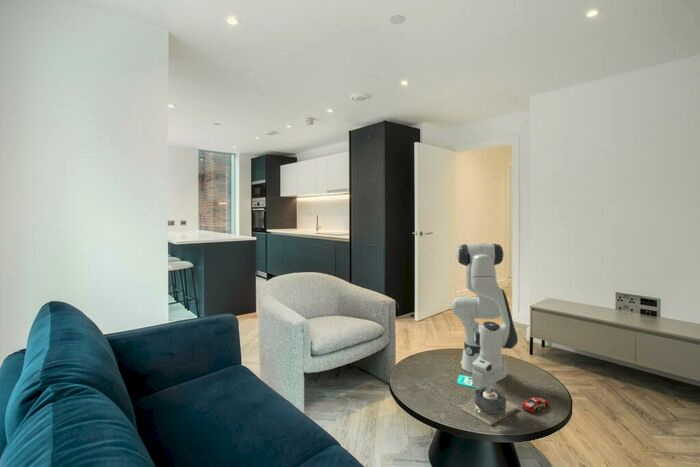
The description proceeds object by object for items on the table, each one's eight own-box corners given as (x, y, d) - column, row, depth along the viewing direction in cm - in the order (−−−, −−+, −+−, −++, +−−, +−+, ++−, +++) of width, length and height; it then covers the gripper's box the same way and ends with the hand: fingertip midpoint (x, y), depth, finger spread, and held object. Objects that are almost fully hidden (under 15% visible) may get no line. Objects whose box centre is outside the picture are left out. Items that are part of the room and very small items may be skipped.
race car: (539, 401, 160) (539, 392, 160) (550, 406, 155) (550, 397, 155) (519, 408, 154) (519, 399, 154) (531, 415, 149) (531, 405, 149)
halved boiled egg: (488, 398, 157) (488, 389, 157) (500, 404, 152) (500, 395, 152) (479, 402, 154) (480, 393, 153) (492, 409, 149) (492, 399, 148)
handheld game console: (459, 376, 184) (459, 374, 184) (492, 383, 177) (492, 380, 177) (456, 385, 176) (456, 382, 176) (490, 392, 168) (490, 389, 168)
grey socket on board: (489, 395, 164) (489, 381, 164) (518, 409, 153) (518, 394, 153) (461, 409, 153) (461, 394, 153) (490, 425, 142) (490, 409, 141)
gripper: (497, 353, 160) (497, 382, 161) (469, 364, 148) (469, 396, 149) (511, 357, 155) (510, 388, 156) (482, 369, 143) (482, 402, 144)
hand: (490, 392), depth 152 cm, fingers closed
